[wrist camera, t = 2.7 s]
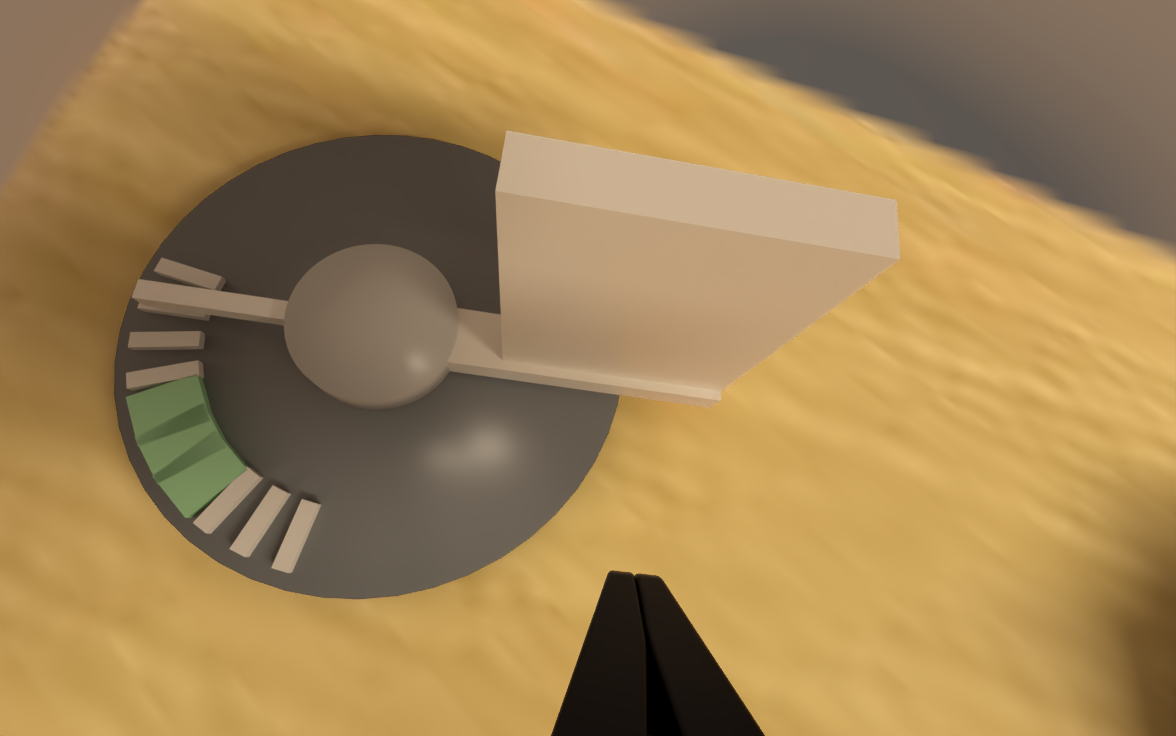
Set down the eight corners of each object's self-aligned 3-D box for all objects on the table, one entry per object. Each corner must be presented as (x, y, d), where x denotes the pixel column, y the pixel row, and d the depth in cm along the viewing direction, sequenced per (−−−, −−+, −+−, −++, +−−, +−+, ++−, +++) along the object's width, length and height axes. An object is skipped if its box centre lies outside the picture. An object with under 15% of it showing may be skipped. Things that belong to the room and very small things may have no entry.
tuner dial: (354, 721, 17) (344, 733, 15) (22, 335, 18) (-7, 323, 17) (708, 356, 21) (718, 346, 20) (414, 79, 23) (410, 57, 22)
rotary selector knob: (126, 377, 17) (-338, 173, 8) (180, 232, 19) (-154, -88, 9) (708, 455, 19) (907, 363, 9) (714, 314, 20) (891, 113, 11)
